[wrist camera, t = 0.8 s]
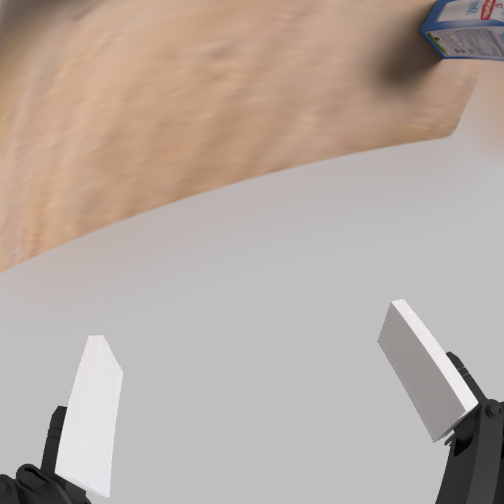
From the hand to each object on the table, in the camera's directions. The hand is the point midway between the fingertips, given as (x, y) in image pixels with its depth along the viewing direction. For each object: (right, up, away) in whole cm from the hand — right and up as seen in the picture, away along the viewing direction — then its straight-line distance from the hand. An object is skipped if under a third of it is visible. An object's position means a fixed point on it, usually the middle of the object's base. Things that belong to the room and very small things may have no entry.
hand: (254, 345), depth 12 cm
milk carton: (+30, +39, +14) cm, 51 cm away
